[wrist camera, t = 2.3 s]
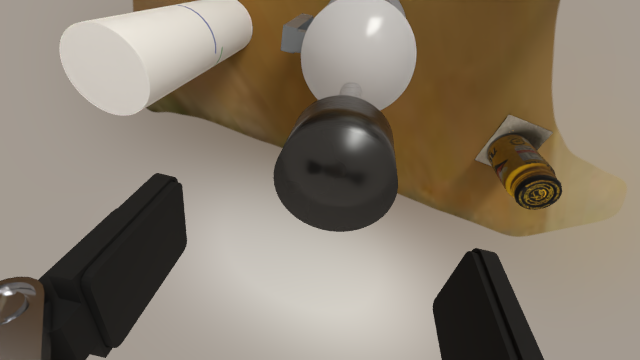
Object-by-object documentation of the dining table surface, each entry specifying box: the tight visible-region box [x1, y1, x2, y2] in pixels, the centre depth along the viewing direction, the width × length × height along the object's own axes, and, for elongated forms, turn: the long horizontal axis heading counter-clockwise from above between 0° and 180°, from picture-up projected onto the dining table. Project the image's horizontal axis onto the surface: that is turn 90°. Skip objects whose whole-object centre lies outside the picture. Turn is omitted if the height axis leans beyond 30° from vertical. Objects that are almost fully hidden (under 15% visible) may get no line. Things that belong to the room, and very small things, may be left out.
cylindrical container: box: [59, 0, 253, 116], centre depth 34 cm, size 7×7×25 cm
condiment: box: [475, 115, 562, 209], centre depth 44 cm, size 7×8×12 cm
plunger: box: [274, 82, 398, 232], centre depth 17 cm, size 5×5×11 cm
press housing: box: [281, 0, 417, 111], centre depth 36 cm, size 14×12×16 cm
